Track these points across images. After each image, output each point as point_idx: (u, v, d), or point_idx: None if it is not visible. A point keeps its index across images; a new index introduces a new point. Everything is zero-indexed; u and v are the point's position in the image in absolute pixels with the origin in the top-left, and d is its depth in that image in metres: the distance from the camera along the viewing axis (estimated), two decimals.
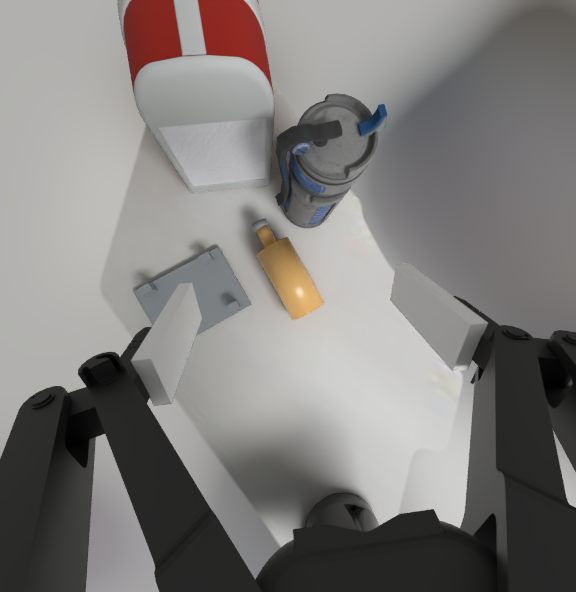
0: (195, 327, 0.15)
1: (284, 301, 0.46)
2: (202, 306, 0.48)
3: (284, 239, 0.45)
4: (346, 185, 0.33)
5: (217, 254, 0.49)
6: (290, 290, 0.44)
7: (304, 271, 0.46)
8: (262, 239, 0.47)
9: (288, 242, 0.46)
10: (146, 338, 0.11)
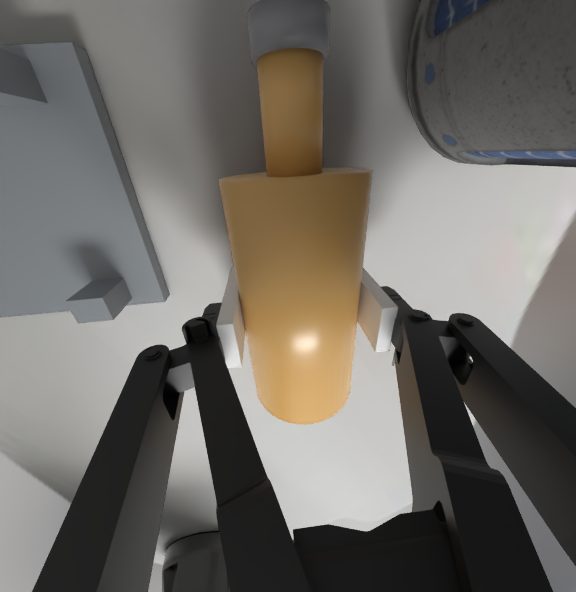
0: None
1: (252, 361, 0.15)
2: None
3: (362, 182, 0.10)
4: None
5: (65, 80, 0.11)
6: (283, 363, 0.13)
7: (354, 317, 0.14)
8: (269, 121, 0.10)
9: (366, 199, 0.11)
10: (221, 309, 0.12)
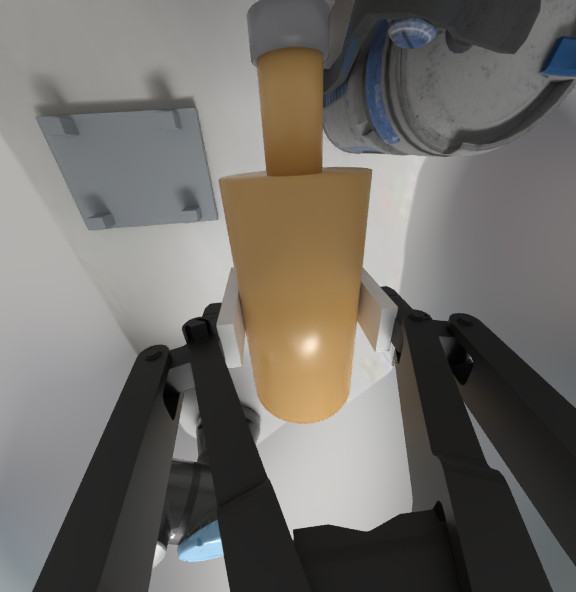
0: None
1: (253, 360, 0.15)
2: (148, 192, 0.33)
3: (362, 181, 0.10)
4: None
5: (190, 121, 0.30)
6: (283, 362, 0.13)
7: (354, 316, 0.14)
8: (269, 120, 0.10)
9: (366, 198, 0.11)
10: (221, 309, 0.12)
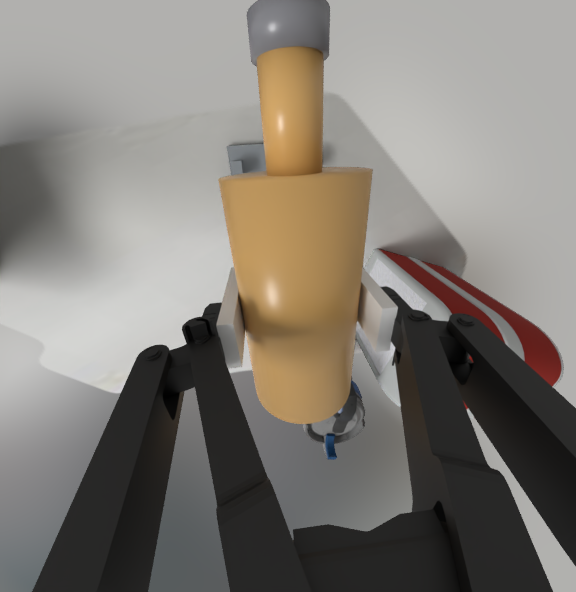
0: None
1: (252, 360, 0.15)
2: None
3: (362, 181, 0.10)
4: None
5: None
6: (283, 362, 0.13)
7: (354, 316, 0.14)
8: (269, 120, 0.10)
9: (366, 198, 0.11)
10: (221, 309, 0.12)
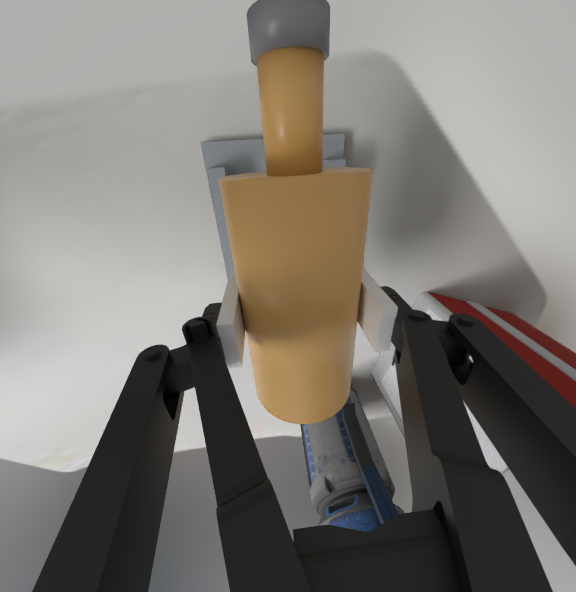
0: None
1: (252, 361, 0.15)
2: None
3: (362, 181, 0.10)
4: None
5: None
6: (283, 363, 0.13)
7: (354, 317, 0.14)
8: (269, 120, 0.10)
9: (366, 198, 0.11)
10: (221, 309, 0.12)
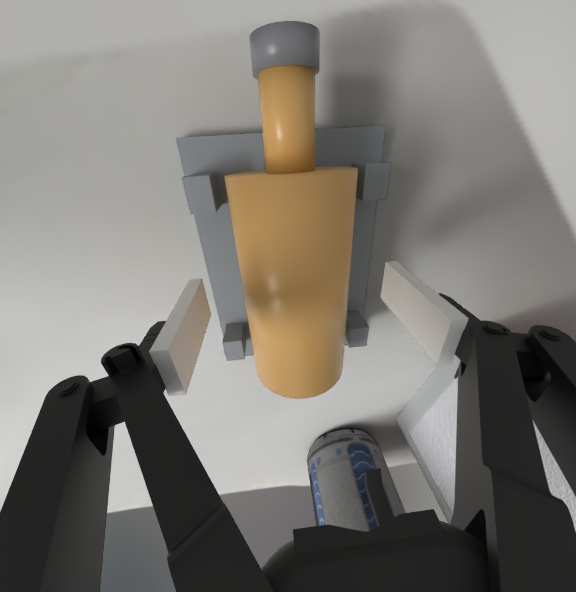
0: (205, 322, 0.15)
1: (253, 341, 0.17)
2: None
3: (348, 178, 0.11)
4: None
5: None
6: (281, 340, 0.15)
7: (344, 299, 0.15)
8: (268, 125, 0.12)
9: (352, 193, 0.12)
10: (162, 331, 0.11)
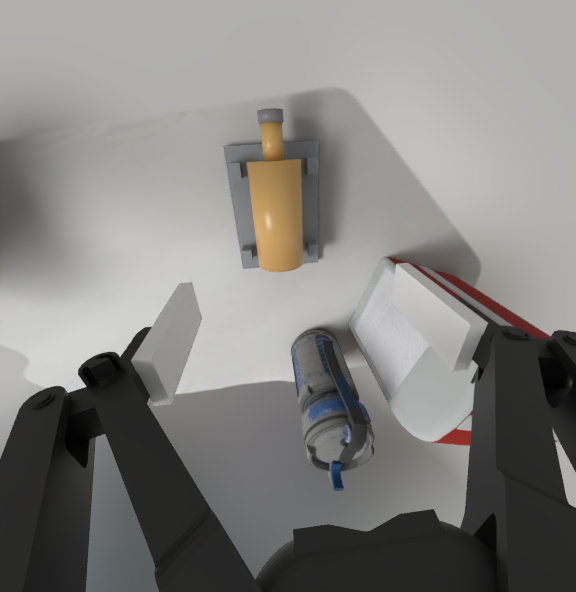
0: (195, 327, 0.15)
1: (257, 243, 0.36)
2: None
3: (294, 162, 0.30)
4: (303, 433, 0.37)
5: (311, 257, 0.43)
6: (270, 236, 0.33)
7: (299, 219, 0.34)
8: (264, 142, 0.30)
9: (297, 169, 0.31)
10: (146, 338, 0.11)
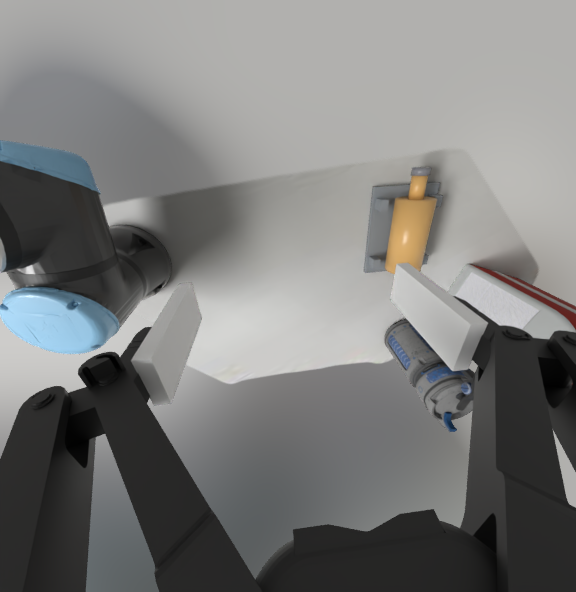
0: (195, 327, 0.15)
1: (393, 255, 0.50)
2: (389, 235, 0.53)
3: (436, 201, 0.44)
4: (422, 392, 0.51)
5: None
6: (408, 251, 0.47)
7: (427, 238, 0.48)
8: (415, 188, 0.44)
9: (435, 205, 0.45)
10: (146, 338, 0.11)
